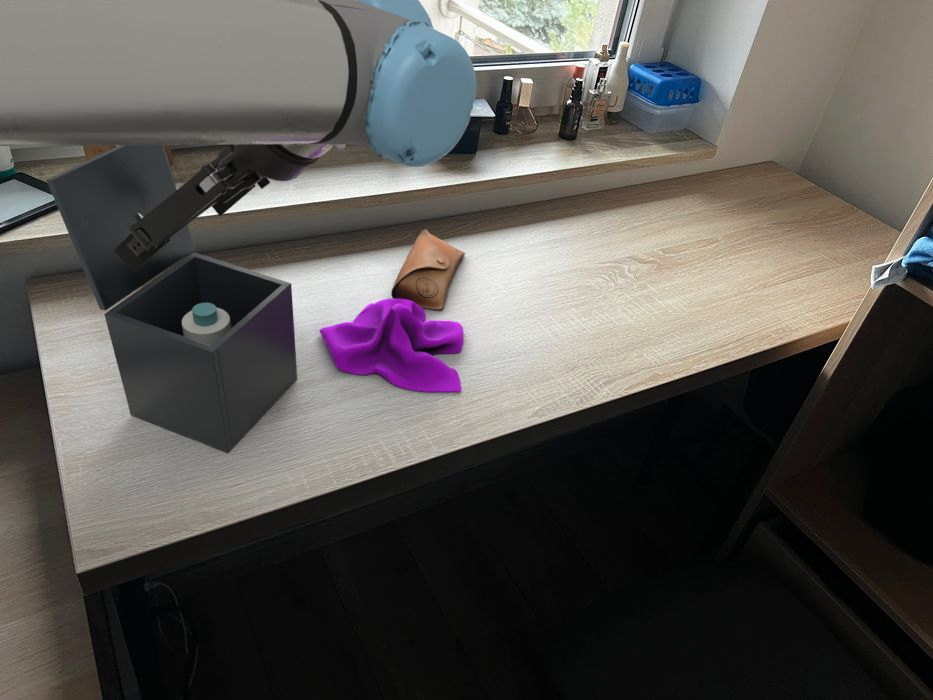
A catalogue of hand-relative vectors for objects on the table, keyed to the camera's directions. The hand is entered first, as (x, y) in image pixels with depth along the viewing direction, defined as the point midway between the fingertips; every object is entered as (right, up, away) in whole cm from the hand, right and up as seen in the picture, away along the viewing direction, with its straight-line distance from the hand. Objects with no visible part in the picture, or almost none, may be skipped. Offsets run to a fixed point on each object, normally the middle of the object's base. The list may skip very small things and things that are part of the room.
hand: (172, 230), depth 76 cm
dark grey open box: (0, -18, +14) cm, 23 cm away
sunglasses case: (+25, -1, +40) cm, 47 cm away
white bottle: (0, -18, +13) cm, 22 cm away
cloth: (+22, -12, +25) cm, 35 cm away
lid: (-5, +1, +1) cm, 5 cm away
